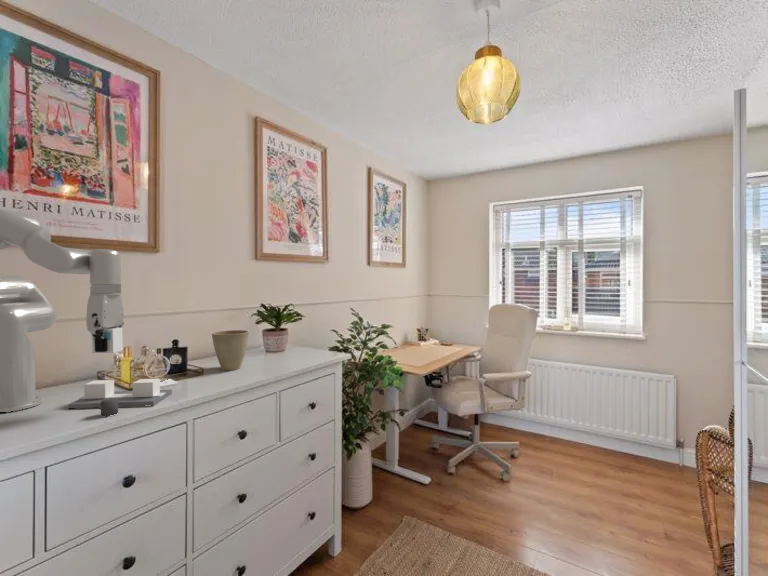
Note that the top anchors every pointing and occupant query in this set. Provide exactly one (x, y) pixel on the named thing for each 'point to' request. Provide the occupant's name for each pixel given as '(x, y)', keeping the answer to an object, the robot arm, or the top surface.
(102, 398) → the rail board
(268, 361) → the top surface
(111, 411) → the dark grey cube
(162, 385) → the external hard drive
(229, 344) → the plant pot
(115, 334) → the module
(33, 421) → the top surface
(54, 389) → the top surface
